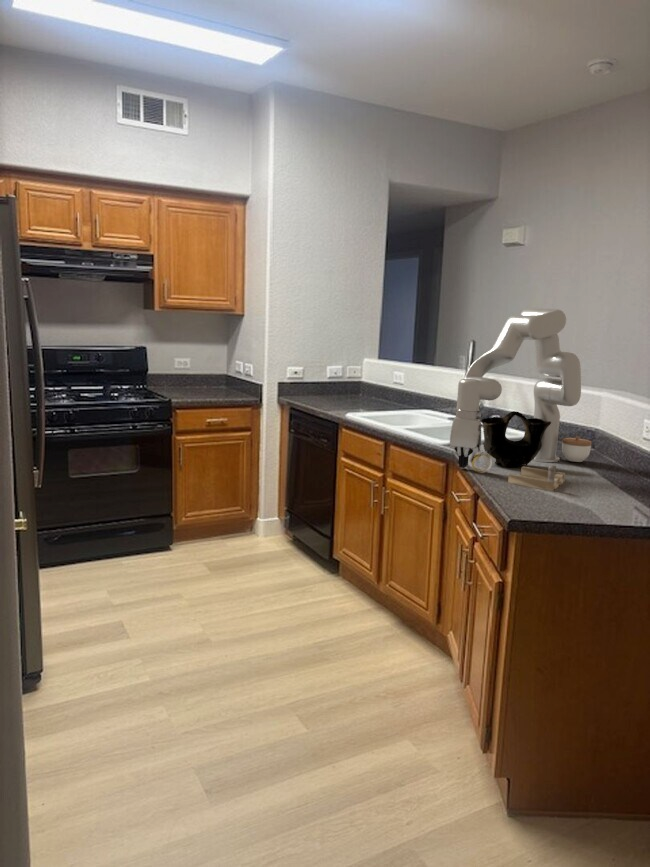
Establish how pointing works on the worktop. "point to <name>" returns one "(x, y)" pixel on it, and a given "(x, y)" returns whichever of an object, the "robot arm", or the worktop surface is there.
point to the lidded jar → (576, 448)
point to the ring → (479, 456)
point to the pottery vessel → (513, 450)
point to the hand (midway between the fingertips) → (462, 466)
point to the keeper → (538, 478)
